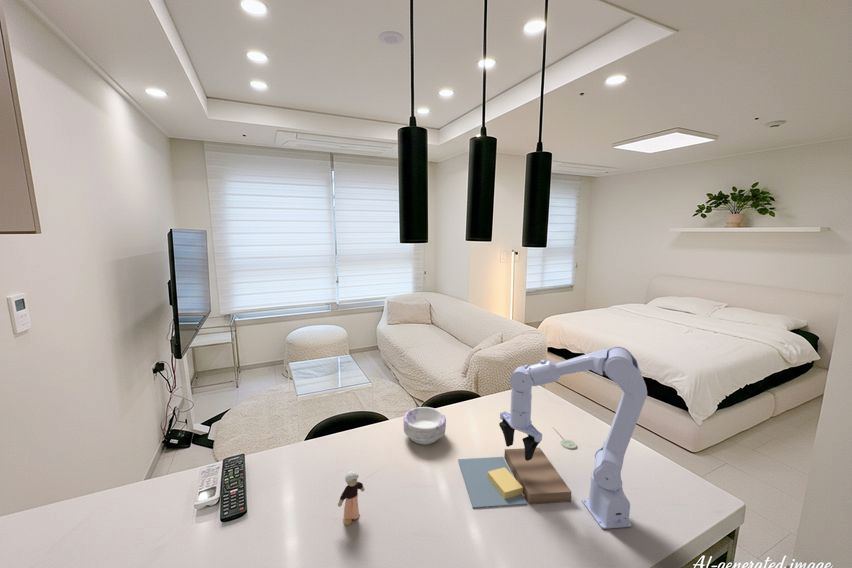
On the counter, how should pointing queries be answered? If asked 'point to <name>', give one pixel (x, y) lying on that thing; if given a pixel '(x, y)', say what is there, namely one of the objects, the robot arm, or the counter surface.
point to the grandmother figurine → (351, 497)
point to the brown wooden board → (537, 477)
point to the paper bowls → (424, 424)
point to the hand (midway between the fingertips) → (518, 452)
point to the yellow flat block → (505, 483)
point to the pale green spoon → (567, 443)
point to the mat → (485, 483)
